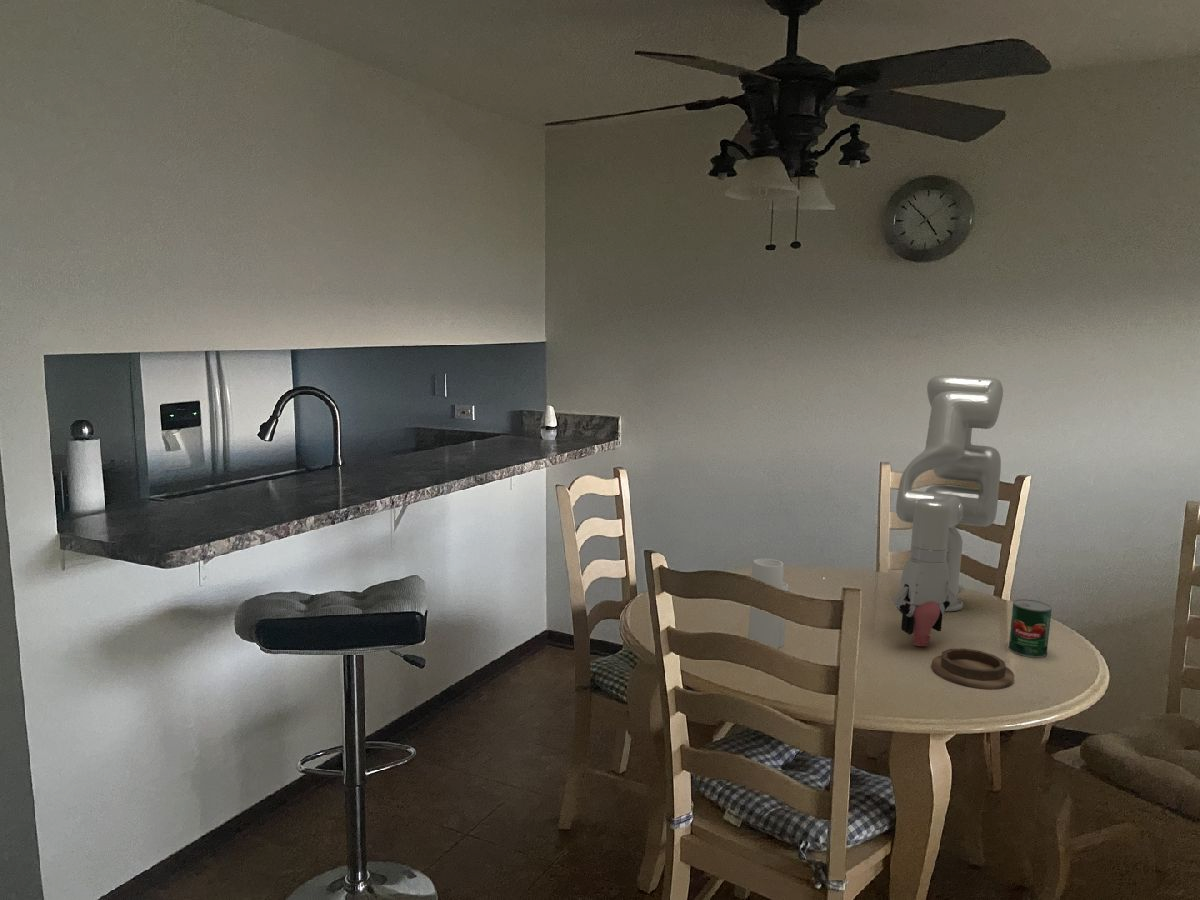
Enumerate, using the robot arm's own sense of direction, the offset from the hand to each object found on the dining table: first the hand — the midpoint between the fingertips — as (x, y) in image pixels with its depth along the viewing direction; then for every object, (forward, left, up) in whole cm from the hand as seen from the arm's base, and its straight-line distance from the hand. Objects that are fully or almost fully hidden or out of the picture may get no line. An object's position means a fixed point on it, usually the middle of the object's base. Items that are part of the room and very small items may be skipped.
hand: (921, 630), depth 197 cm
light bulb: (0, 0, -4) cm, 4 cm away
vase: (+30, -20, -4) cm, 36 cm away
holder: (+5, +15, -4) cm, 16 cm away
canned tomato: (-18, +16, -4) cm, 24 cm away
